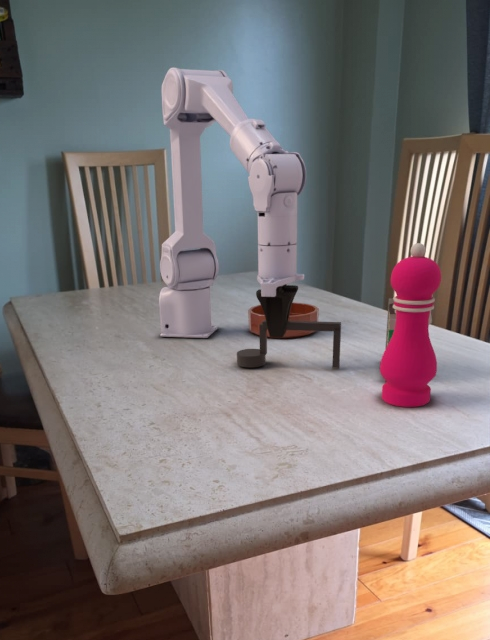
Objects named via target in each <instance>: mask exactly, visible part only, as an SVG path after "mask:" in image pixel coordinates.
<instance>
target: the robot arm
mask: <svg viewBox="0 0 490 640" xmlns="http://www.w3.org/2000/svg"><path fill="white" fill-rule="evenodd" d="M160 88H161V106H162V118H163V119H162V120H163V126H165V127H166V128H168V129H169V138H170V139H169V140H170V157H171V175H172V177H171V178H172V196H173V198H172V199H173V212H174V213H173V214H174V232H173V233H172V234H171V235H170V236H169V237H168V238H167V239H166V240H164V241H163V243H161V255H160V256H161V257H160V261H159V271H160V276H161V278H162V280H163V282H164V283H165V285H166V286H165V287H162V288H161V290H160V292H159V297H158V308H159V321H160V331H161V332H160V337H161V338H163V337H164V338H193V339H195V338H196V339H199V338H200V339H207V338H209V337H210V336H212V334H213V333H215V332H216V331H217V330H218V329H219V326H218V325H212V305H211V304H212V303H211V287H212V286H214V281H216V279H217V277H218V275H219V272H220V271H219V270H220V264H219V259H218V256H217V249H216V242H215V241H214V240H213V239H212V238H211V237H209V236H208V235H207V234H206V233H205V232H204V214H203V213H204V212H203V209H204V208H203V186H202V185H203V183H202V181H203V180H202V151H201V136H202V134H203V133H204V131H205V130H206V128H209V127H211V126H213V125H214V124H215V122H216V123H217V124H218V125H219V126H220V127H221V128H222V129H223V130H224V131H225V132H226V134H228V136H229V148H230V150H231V152H232V153H233V155H234V156H235V158H236V159H237V160H238V161H239V163H240V164H241V165H242V167H243V168H244V170H246V173H248V174H249V175H248V176H247V181H248V187H249V190H250V193H251V194H252V199H253V201H252V202H253V208H254V211H256V212H257V263H258V264H257V271H258V274H257V275H256V281H257V282H258V283H259V284H260V289H258V290H256V291H255V296H256V299H257V301H258V302H259V305H261V306H262V309H263V311H264V315H265V319H266V323H267V328H268V332H269V336H270V337H283V336H284V334H285V333H286V330H285V327H286V321H288V320H289V314H290V309H291V306H292V302H293V303H294V299H295V297H296V296H297V292H298V290H299V286H298V285H296V284H295V285H294V284H292V285H291V283H294V282H295V283H296V282H297V281H299V282H300V281H304V280H305V274H304V273H297V271H298V270H297V269H298V267H297V266H298V263H297V262H298V259H297V258H298V196H299V195H301V194H302V192H303V191H304V189H305V186H306V182H307V168H306V164H305V161H304V159H303V158H302V156H301V153H299V152H297V151H290V152H289V151H288V150H284V149H283V147H282V146H281V144H280V142H279V141H277V139H275V137H274V136H273V135H272V133H270V131H269V130H268V128H266V123H265V122H264V121H263V119H257V118H249V117H248V115H247V114H246V112H245V111H244V109H243V108H242V107H241V105H240V103H239V101H238V100H237V99H236V97H235V95H234V89H233V80H232V79H231V78H230V77H229V75H228V73H227V72H226V71H224V70H222V69H217V70H206V69H187V68H186V69H185V68H179V67H170V68H169V69H168V70H167V72H166V74H165V75H164V79H163V82H162V83H161V87H160Z"/></svg>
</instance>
